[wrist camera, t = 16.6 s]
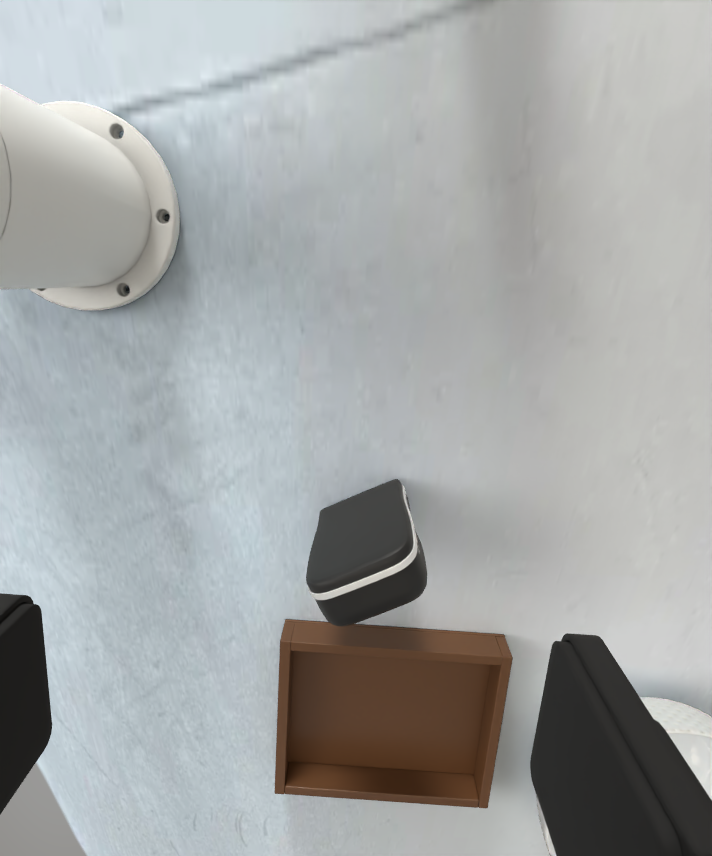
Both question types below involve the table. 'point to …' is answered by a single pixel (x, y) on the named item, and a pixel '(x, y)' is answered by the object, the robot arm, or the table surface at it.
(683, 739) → the cereal bowl
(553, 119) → the table surface
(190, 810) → the table surface
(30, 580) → the table surface
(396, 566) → the battery charger
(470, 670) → the tray
